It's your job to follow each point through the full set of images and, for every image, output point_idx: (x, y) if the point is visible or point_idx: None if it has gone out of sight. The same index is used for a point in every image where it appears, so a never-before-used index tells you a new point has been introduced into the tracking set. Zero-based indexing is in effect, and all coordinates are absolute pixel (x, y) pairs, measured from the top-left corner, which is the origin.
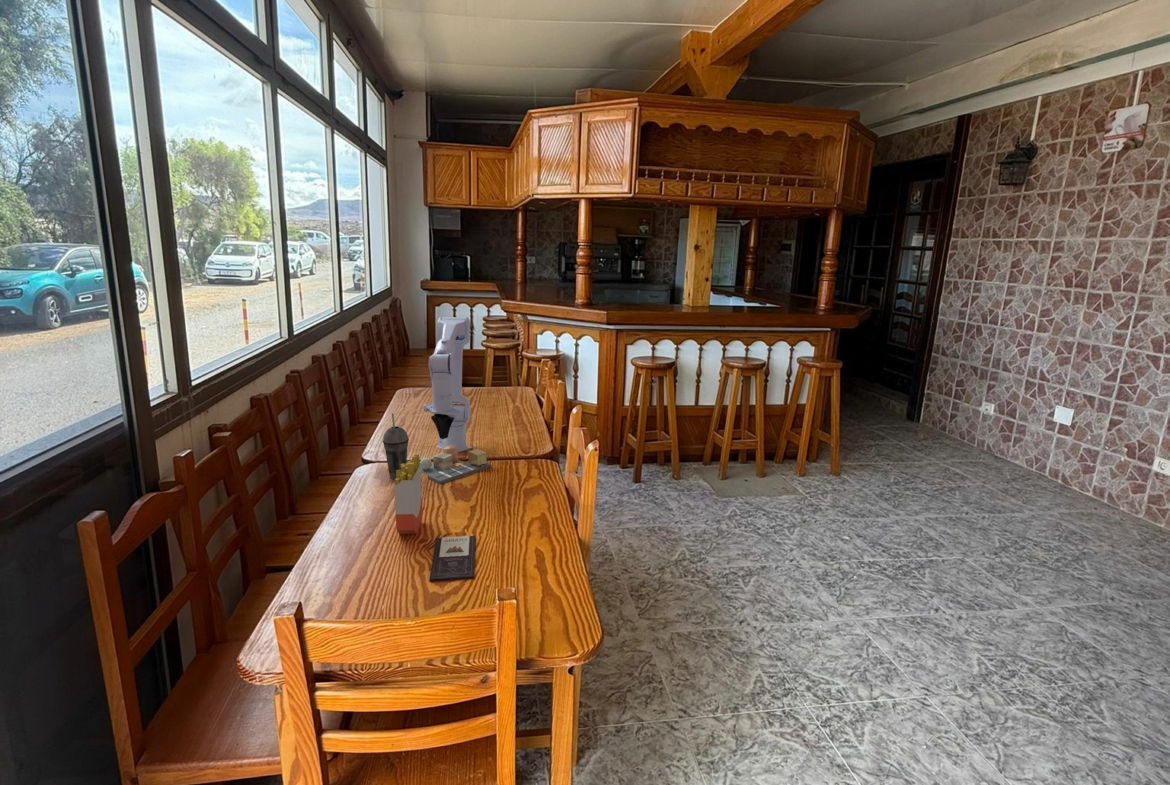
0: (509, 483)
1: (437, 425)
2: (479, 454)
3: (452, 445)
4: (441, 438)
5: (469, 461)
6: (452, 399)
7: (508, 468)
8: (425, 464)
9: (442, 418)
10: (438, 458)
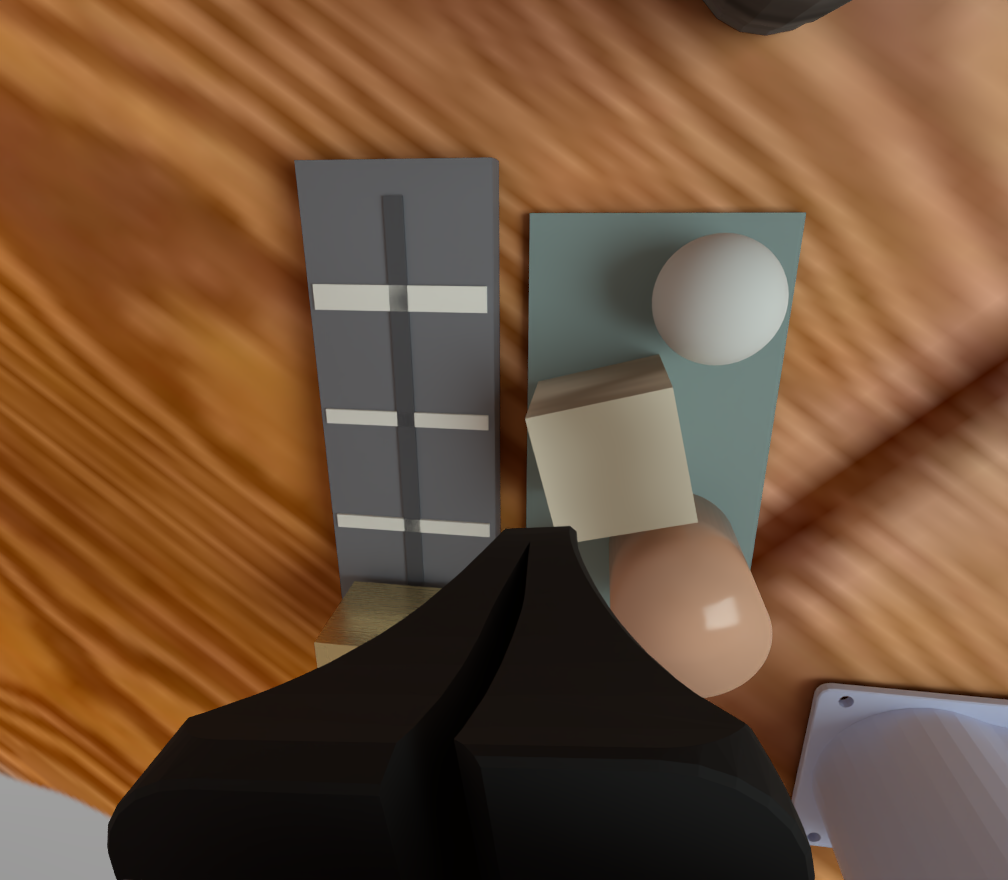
0: (58, 541)
1: (546, 639)
2: (318, 663)
3: (709, 679)
4: (533, 529)
5: None
6: None
7: None
8: (670, 263)
9: (116, 818)
10: (598, 400)
